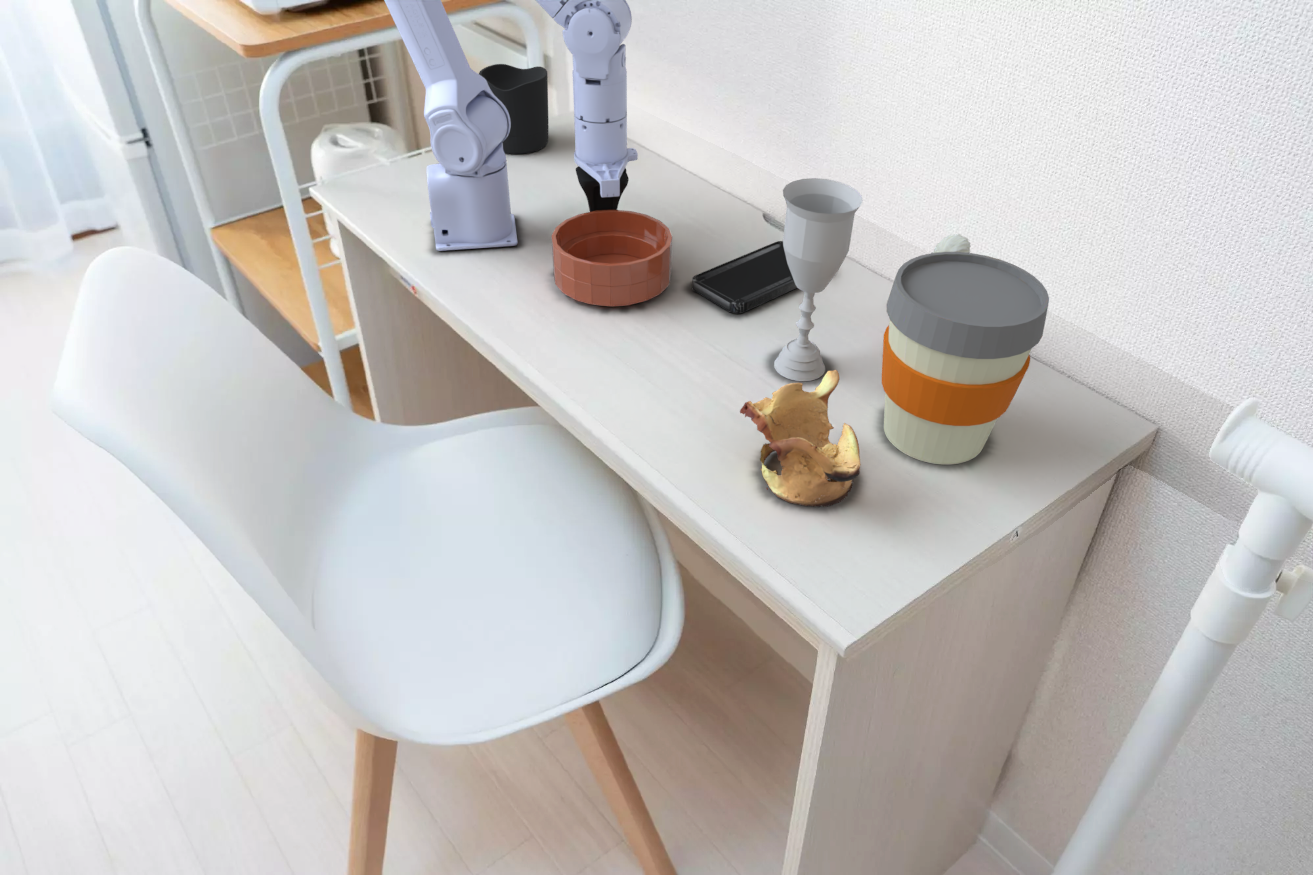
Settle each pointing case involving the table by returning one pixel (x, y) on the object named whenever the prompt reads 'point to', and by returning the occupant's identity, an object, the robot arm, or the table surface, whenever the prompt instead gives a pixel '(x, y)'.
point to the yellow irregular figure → (805, 445)
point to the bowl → (612, 257)
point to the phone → (747, 279)
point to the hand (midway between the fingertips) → (603, 229)
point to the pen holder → (521, 105)
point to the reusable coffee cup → (956, 351)
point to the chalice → (814, 259)
